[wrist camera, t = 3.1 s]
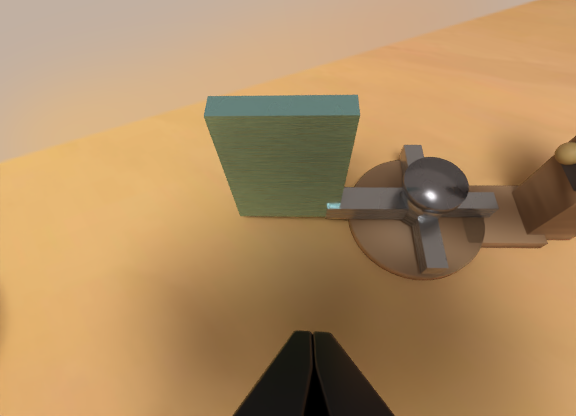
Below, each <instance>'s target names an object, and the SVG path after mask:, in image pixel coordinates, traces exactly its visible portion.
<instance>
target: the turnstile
mask: <svg viewBox="0 0 576 416" xmlns="http://www.w3.org/2000/svg"><path fill="white" fill-rule="evenodd" d="M204 118H205V121H206V124H207V127H208V129H209V132H210V135H211V137H212V140H213V143H214V146H215V148H216V151H217V154H218V156H219V159H220V162H221V165H222V167H223V170H224V173H225V176H226V178H227V181H228V184H229V186H230V189H231V192H232V195H233V197H234V200H235V203H236V205H237V208H238V211H239V214H240V216H287V217H326V219H401V220H402V221H403V222H405V223H406V224H407V225H409V226H412V230H413V235H414V241H415V246H416V252H417V258H418V263H419V269H420V274H442V273H443V272H444V271H446V270H447V269H448V268H449V267H448V263H447V258H446V254H445V249H444V245H443V240H442V236H441V231H440V227H439V222H438V219H439V218H440V217H490V216H491V215H492V214H493V213H495V212H496V211H497V210H498V209H499V207H498V204H497V201H496V198H495V195H494V192H469V184H468V181H467V178H466V176H465V175H464V173H463V172H462V171H461V170H460V169H459V168H458V167H457V166H456V165H454V164H453V163H451V162H449V161H447V160H444V159H441V158H436V157H425V158H424V155H423V151H422V146H421V145H404V146H403V148H402V151H401V153H400V155H399V157H400V162H401V168H402V173H403V178H402V188H367V187H344V185H345V181H346V176H347V172H348V167H349V163H350V158H351V154H352V149H353V145H354V140H355V136H356V131H357V127H358V122H359V118H360V110H359V101H358V95H294V96H208V98H207V103H206V108H205V113H204Z"/></svg>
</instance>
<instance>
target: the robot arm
mask: <svg viewBox="0 0 576 416" xmlns="http://www.w3.org/2000/svg"><path fill="white" fill-rule="evenodd" d="M233 416H395V415H394V414H393V413H392V411H391V410H390V409H389V408H388V406H387V405H386V404H385V402H384V401H383V400H382V398H381V397H380V396H379V395H378V393H377V392H376V391H375V389H374V388H373V387H372V386H371V384H370V383H369V382H368V380H367V379H366V378H365V377H364V375H363V374H362V373H361V371H360V370H359V369H358V368H357V366H356V365H355V364H354V362H353V361H352V360H351V358H350V357H349V356H348V355H347V353H346V352H345V351H344V349H343V348H342V347H341V346H340V344H339V343H338V342H337V340H336V339H335V338H334V337H333V335H332V334H331V333H329V332H313V334H312V333H311V332H310V331H298V330H296V331H294V332H293V333H292V335H291V336H290V337H289V339H288V340H287V342H286V343H285V344H284V346H283V347H282V348H281V350H280V351H279V353H278V354H277V355H276V357H275V358H274V359H273V361H272V362H271V363H270V365H269V366H268V368H267V369H266V370H265V372H264V373H263V374H262V376H261V377H260V379H259V380H258V381H257V383H256V384H255V385H254V387H253V388H252V390H251V391H250V392H249V394H248V395H247V396H246V398H245V399H244V401H243V402H242V403H241V405H240V406H239V407H238V409H237V410H236V412H235V413H234V414H233Z"/></svg>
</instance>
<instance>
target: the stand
mask: <svg viewBox="0 0 576 416" xmlns="http://www.w3.org/2000/svg"><path fill="white" fill-rule="evenodd" d="M402 178H403V173H402V168H401V162H400V160H396V161H390V162H386V163H383V164H380V165H378V166H376V167H374V168H372V169H371V170H369V171H368V172H367V173H365V174H364V175H363V176H362V177H361V178H360V179H359V181H358V182H357V184H356V185H355V187H367V188H402ZM469 192H494V195H495V198H496V201H497V204H498V207H499V209H498V210H497V211H496V212H495V213H493V214H492V215H491V216H490V217H440V218H439V219H438V222H439V227H440V231H441V236H442V240H443V245H444V249H445V254H446V258H447V263H448V267H449V268H448V269H447V270H446V271H444V272H443V273H442V274H420V269H419V263H418V258H417V252H416V246H415V241H414V235H413V230H412V226H409V225H407V224H406V223H405V222H403V221H402V220H401V219H348V220H349V226H350V229H351V232H352V235H353V237H354V239H355V241H356V243H357V244H358V246H359V247H360V248H361V250H362V251H363V252H364V253H365V254H366V255H367V256H368V257H369V258H370V259H371V260H372V261H373V262H374V263H376V264H377V265H378V266H380V267H381V268H383V269H385V270H386V271H389V272H391V273H393V274H395V275H398V276H401V277H404V278H409V279H414V280H434V279H440V278H443V277H446V276H449V275H451V274H453V273H455V272H457V271H459V270H460V269H461V268H463V267H464V266H466V265H467V264H468V263H470V262H471V260H472V259H473V258H474V257H475V256H476V255H477V253H478V252H479V250H480V248H481V247H487V248H541V247H542V246H544V245H546V244H548V243H547V240H570V239H572V238H574V237H576V136H575V137H574V138H573V139H572V140H570V141H569V142H568V143H564V144H562V145H560V146H559V147H558V148H557V149H556V151H555V155H554V156H553V157H551V158H550V159H549V160H548V161H547V162H546V163H545V164H544V165H542V166H541V167H540V168H539V169H538V170H537V171H536V172H535V173H533V174H532V175H531V176H530V177H529V178H528V179H527V180H526V181H524V182H523V183H522V184H521V185H520V186H469Z"/></svg>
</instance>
